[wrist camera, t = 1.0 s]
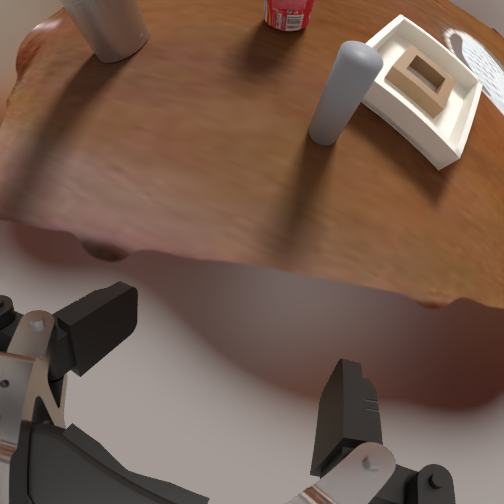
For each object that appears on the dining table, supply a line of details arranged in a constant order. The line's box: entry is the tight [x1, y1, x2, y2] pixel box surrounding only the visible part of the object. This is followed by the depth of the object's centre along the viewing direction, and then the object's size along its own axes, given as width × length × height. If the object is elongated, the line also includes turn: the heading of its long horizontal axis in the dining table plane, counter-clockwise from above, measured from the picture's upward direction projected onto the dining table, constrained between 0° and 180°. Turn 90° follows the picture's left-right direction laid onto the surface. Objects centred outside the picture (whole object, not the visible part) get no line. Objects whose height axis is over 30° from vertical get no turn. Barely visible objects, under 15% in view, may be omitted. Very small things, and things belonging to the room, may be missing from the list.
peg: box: [308, 41, 383, 146], centre depth 23 cm, size 4×4×14 cm
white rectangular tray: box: [361, 14, 483, 171], centre depth 28 cm, size 18×22×5 cm
